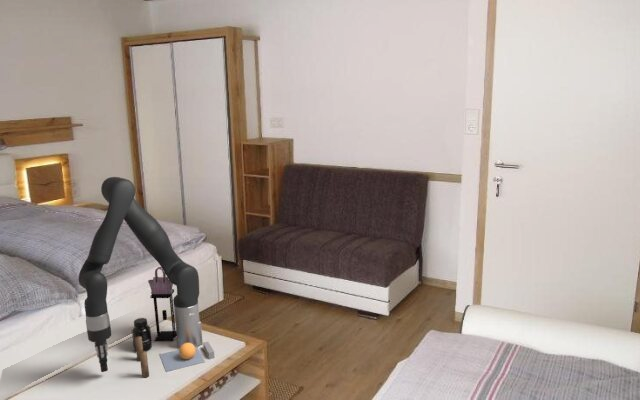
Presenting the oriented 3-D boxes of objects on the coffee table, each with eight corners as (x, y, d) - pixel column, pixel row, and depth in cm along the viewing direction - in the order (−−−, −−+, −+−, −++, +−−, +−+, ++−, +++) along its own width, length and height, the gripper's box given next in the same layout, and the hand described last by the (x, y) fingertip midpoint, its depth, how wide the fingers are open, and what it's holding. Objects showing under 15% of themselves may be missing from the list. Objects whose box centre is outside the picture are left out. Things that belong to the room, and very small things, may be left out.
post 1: (143, 357, 198) (141, 335, 196) (144, 360, 196) (142, 338, 194) (136, 359, 197) (134, 337, 195) (137, 362, 195) (135, 339, 193)
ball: (187, 336, 198) (174, 348, 197) (189, 343, 193) (176, 355, 191) (197, 347, 200) (185, 358, 199) (200, 353, 195) (187, 365, 194)
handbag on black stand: (182, 332, 217) (175, 264, 211) (176, 341, 210) (169, 270, 204) (157, 332, 218) (150, 264, 212) (150, 341, 211) (143, 270, 205)
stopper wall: (208, 347, 204) (208, 341, 204) (214, 357, 196) (214, 351, 196) (203, 348, 203) (203, 342, 203) (209, 359, 195) (208, 352, 195)
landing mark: (196, 346, 206) (196, 345, 206) (204, 362, 193) (204, 361, 193) (159, 354, 200) (159, 354, 200) (166, 371, 187) (166, 371, 187)
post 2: (148, 373, 186) (146, 350, 185) (149, 376, 184) (147, 353, 182) (141, 375, 185) (139, 352, 184) (142, 378, 183) (140, 355, 181)
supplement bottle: (146, 353, 201) (143, 324, 198) (130, 352, 202) (127, 323, 200) (155, 345, 207) (152, 317, 205) (139, 344, 209) (136, 316, 206)
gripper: (111, 330, 177) (117, 376, 180) (108, 315, 188) (114, 359, 192) (87, 335, 174) (94, 382, 177) (85, 320, 185) (91, 364, 189)
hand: (104, 370), depth 185 cm, fingers closed
